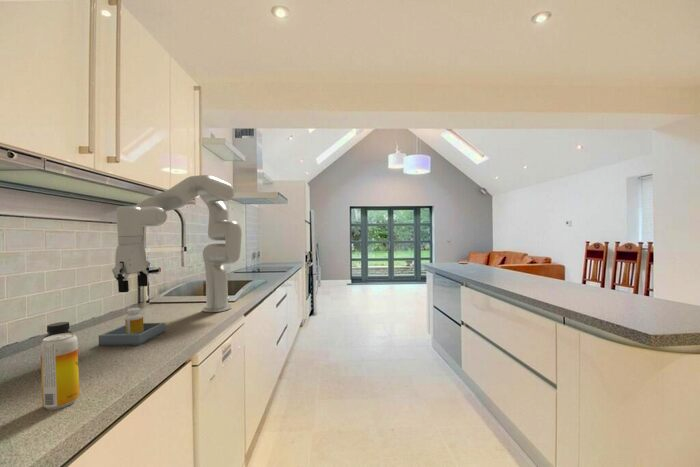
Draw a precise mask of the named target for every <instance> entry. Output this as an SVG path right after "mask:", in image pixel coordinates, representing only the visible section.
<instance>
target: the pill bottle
mask: <svg viewBox="0 0 700 467" xmlns="http://www.w3.org/2000/svg"><path fill="white" fill-rule="evenodd" d="M42 339H43V338H42ZM78 345H79V344H78V337H77V336H76V334H75V332H73V333H62V334H57V335H52V336H49V337H46V338H44V339H43V341H42V340H41V343H40V345H39V346H40V368H41V370H40V371H41V392H42V393H41V396H42V407H44V408H45V409H47V410H48V411H53V410H59V409H62V408H66V407H67V406H68V407H69V406H70V405H72V404H74V403H75V402H76V401H77V399H78V398H79V397H80V375H79V373H80V372H79V350H78V348H79V347H78Z"/></svg>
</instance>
